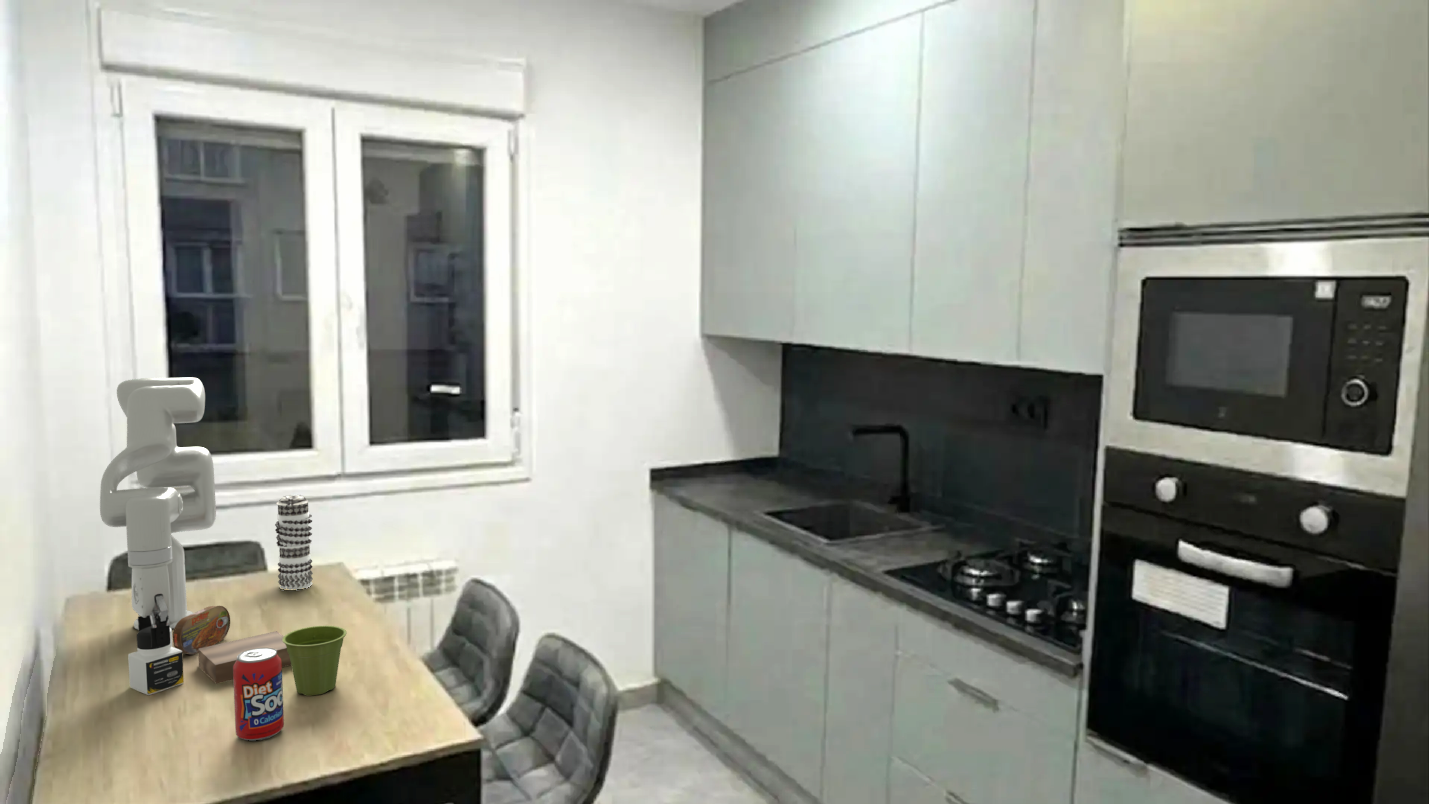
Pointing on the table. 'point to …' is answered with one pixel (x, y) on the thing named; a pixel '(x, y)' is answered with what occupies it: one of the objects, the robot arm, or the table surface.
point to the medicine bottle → (154, 665)
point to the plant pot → (315, 657)
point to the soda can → (258, 694)
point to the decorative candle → (294, 542)
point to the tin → (201, 629)
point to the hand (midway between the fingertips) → (154, 640)
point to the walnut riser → (224, 655)
